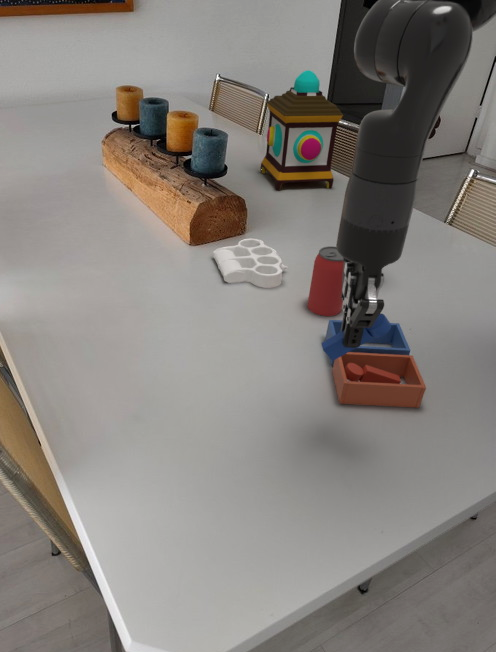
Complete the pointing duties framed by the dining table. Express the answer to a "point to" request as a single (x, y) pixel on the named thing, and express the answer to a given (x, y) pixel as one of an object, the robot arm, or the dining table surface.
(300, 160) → the decorative lantern
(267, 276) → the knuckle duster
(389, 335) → the blue bin
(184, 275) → the dining table surface
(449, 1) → the robot arm
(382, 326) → the blue spoon
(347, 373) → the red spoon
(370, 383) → the terracotta bin
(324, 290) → the beer can
